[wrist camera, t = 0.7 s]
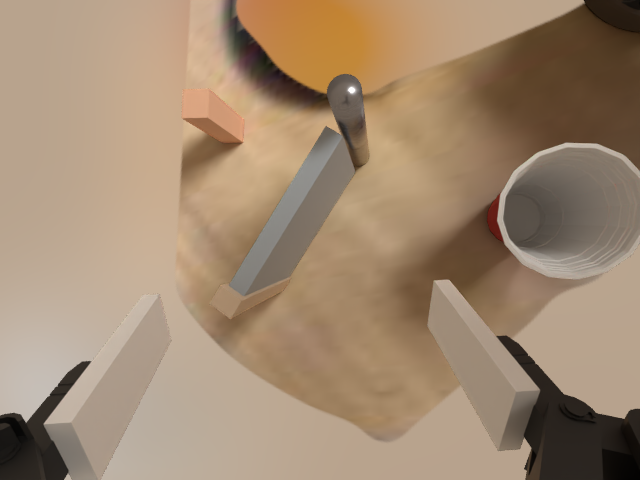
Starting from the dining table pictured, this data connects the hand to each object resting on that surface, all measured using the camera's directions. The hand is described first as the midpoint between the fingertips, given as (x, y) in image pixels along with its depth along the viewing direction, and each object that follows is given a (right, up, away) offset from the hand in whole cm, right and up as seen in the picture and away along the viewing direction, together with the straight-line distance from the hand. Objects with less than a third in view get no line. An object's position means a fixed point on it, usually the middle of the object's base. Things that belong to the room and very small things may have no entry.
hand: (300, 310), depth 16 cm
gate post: (+6, +14, +24) cm, 28 cm away
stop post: (-10, +18, +27) cm, 34 cm away
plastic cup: (+23, +6, +21) cm, 32 cm away
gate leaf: (0, +5, +24) cm, 25 cm away
